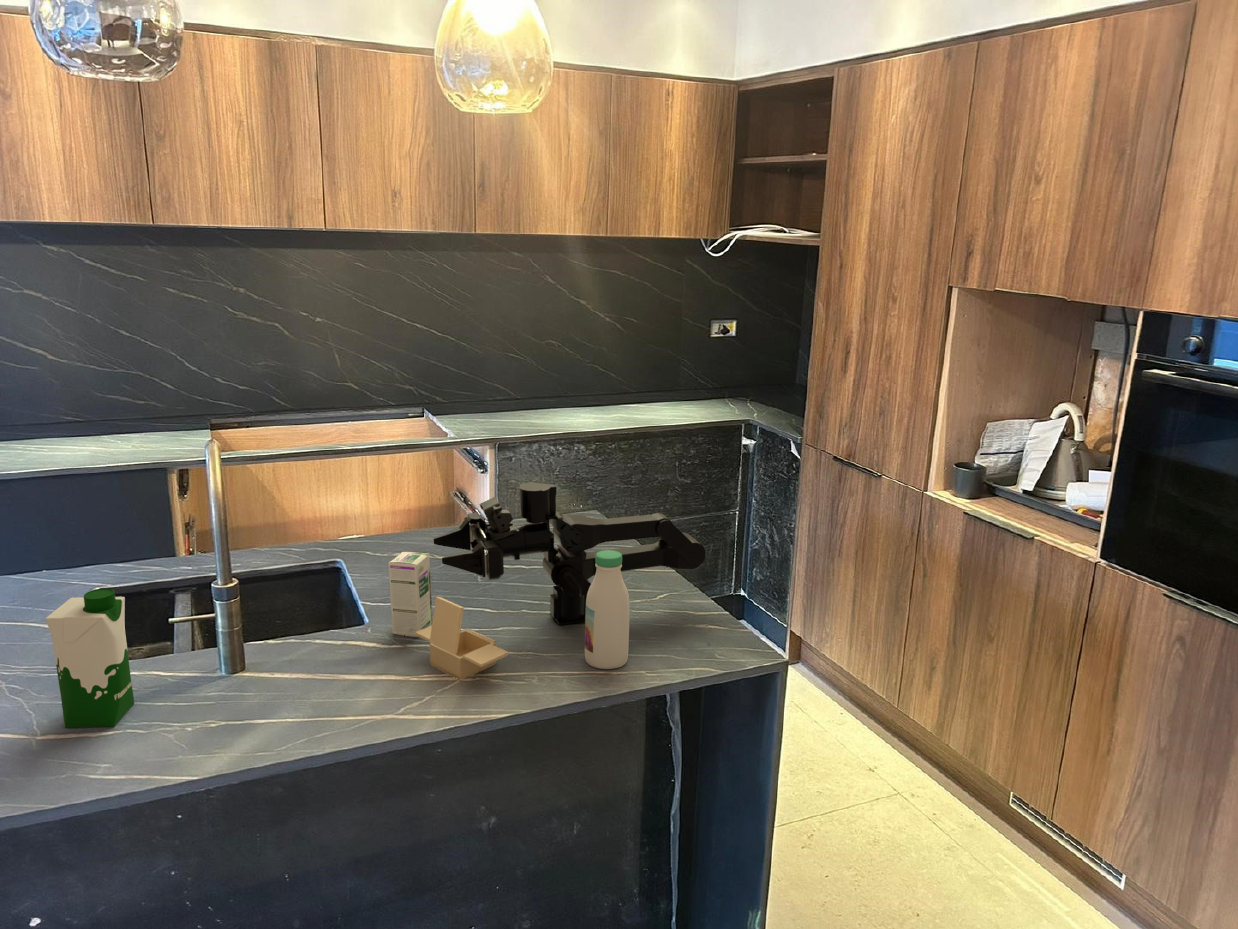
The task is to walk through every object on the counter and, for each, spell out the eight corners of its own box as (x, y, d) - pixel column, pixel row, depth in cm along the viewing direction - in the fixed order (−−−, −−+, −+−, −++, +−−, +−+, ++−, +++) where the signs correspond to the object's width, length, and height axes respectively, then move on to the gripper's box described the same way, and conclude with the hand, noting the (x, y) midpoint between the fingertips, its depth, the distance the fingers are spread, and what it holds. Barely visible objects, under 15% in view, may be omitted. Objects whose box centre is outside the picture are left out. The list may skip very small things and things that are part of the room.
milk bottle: (633, 654, 162) (637, 549, 157) (619, 674, 155) (622, 564, 150) (593, 647, 165) (595, 543, 160) (577, 666, 158) (579, 558, 153)
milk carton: (118, 730, 134) (101, 605, 129) (54, 731, 134) (35, 606, 128) (143, 700, 143) (128, 582, 138) (83, 701, 142) (66, 582, 137)
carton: (451, 640, 166) (451, 618, 165) (517, 671, 155) (517, 648, 154) (413, 656, 160) (412, 633, 158) (478, 690, 149) (478, 665, 148)
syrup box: (420, 638, 167) (418, 564, 163) (390, 634, 168) (387, 561, 164) (433, 625, 172) (431, 553, 168) (404, 621, 173) (401, 550, 169)
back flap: (432, 642, 155) (439, 596, 154) (456, 653, 151) (463, 607, 150) (429, 642, 154) (436, 597, 154) (453, 654, 150) (460, 607, 150)
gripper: (508, 483, 175) (427, 492, 170) (533, 516, 159) (444, 527, 153) (510, 536, 179) (430, 547, 173) (534, 575, 162) (447, 587, 157)
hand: (437, 550), depth 164 cm, fingers open, 9 cm apart
